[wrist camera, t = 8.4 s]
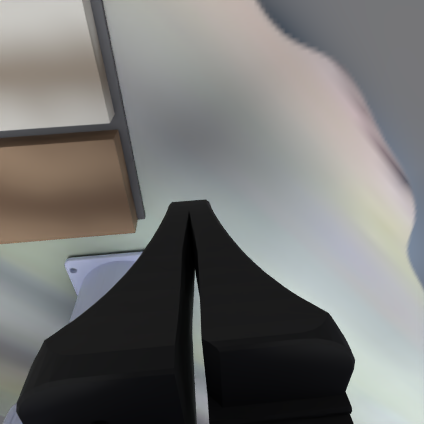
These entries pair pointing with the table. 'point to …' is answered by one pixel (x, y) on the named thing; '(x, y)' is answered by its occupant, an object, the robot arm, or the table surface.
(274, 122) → the table surface
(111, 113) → the plank
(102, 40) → the underlay mat
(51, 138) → the laid plank
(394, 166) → the table surface
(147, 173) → the table surface
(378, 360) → the table surface
